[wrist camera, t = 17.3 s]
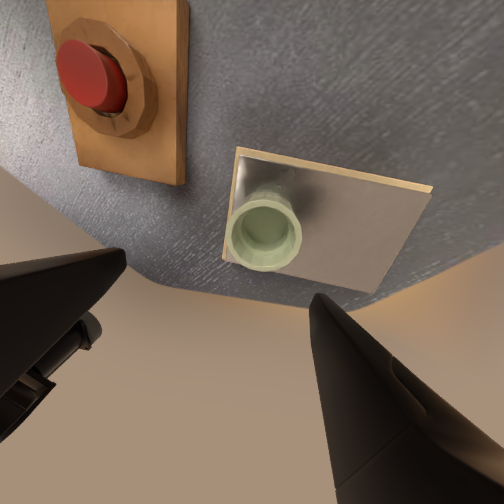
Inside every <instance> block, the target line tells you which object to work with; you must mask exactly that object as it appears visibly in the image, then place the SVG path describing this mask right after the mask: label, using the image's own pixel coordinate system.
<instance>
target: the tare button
mask: <svg viewBox="0 0 504 504" xmlns="http://www.w3.org/2000/svg"><path fill="white" fill-rule="evenodd" d="M57 67H58V72H59V76H60V79H61V81H62V83H63V85H64V87H65V89H66V90H67V92H68V93H69V94H70V95H71V96H72V97H73V98H74V99H75V100H76V101H77V102H78V103H80V104H82V105H84V106H86V107H90V108H93V109H97V110H100V111H103V112H107V113H116V112H118V111H120V110H121V109H122V108H123V107H124V105H125V103H126V99H127V86H126V82H125V78H124V76H123V74H122V72H121V70H120V69H119V67H118V66H117V65H116V63H115V62H114V61H113V60H112V59H110V58H109V57H107V56H106V55H104V54H103V53H101V52H99V51H98V50H96V49H95V48H93V47H91V46H90V45H88V44H87V43H85V42H83V41H81V40H77V39H70V40H67V41H65V42H64V43H63V44H62V45H61V47H60V49H59V51H58V55H57Z"/></svg>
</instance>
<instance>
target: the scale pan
mask: <svg viewBox="0 0 504 504" xmlns="http://www.w3.org/2000/svg"><path fill="white" fill-rule="evenodd" d="M264 191H266V192H267V191H268V192H273V193H278V194H280V195H281V196H283V197H284V198H286V199H287V200H288V201H289V202H290V203H291V205H292V206H293V208H294V210H295V212H296V214H297V217H298V219H299V222H300V225H301V231H302V243H301V246H300V249H299V252H298V254H297V255H296V256H295V257H294V259H293V260H292V261H291V262H290V263H289V264H288V265H286V266H284V267H282V268H280V269H278V270H275V271H272V272H277V273H281V274H286V275H290V276H295V277H299V278H304V279H308V280H313V281H317V282H322V283H326V284H331V285H335V286H340V287H344V288H349V289H353V290H358V291H362V292H367V293H371V294H374V293H375V291H376V289H377V288H378V286H379V284H380V283H381V281H382V279H383V278H384V276H385V274H386V273H387V271H388V269H389V268H390V266H391V264H392V263H393V261H394V259H395V258H396V256H397V254H398V253H399V251H400V249H401V248H402V246H403V244H404V243H405V241H406V239H407V238H408V236H409V234H410V232H411V231H412V229H413V227H414V226H415V224H416V222H417V221H418V219H419V217H420V216H421V214H422V212H423V211H424V209H425V207H426V206H427V204H428V202H429V201H430V199H431V197H432V196H433V194H429V193H425V192H420V191H415V190H410V189H405V188H400V187H396V186H391V185H386V184H381V183H376V182H371V181H367V180H362V179H357V178H352V177H347V176H342V175H338V174H333V173H328V172H323V171H318V170H313V169H309V168H304V167H299V166H294V165H289V164H284V163H280V162H275V161H270V160H265V159H260V158H256V157H251V156H246V155H241V154H240V155H239V163H238V170H237V177H236V184H235V192H234V199H233V206H232V213H231V216H232V214H233V213H234V211H235V210H236V209H237V208H238V207H239V206H240V204H241V203H242V202H243V201H244V200H245V199H247V198H248V197H250V196H251V195H252V194H255V193H259V192H264ZM225 261H227V262H232V263H236V264H240V263H239V262H237V261H236V259H235V258H234V257H233V256H232V254H231V253H230V252H229V250H228V246H227V249H226V257H225ZM241 265H242V264H241Z"/></svg>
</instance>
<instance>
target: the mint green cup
mask: <svg viewBox="0 0 504 504" xmlns="http://www.w3.org/2000/svg"><path fill="white" fill-rule="evenodd" d="M225 239H226V242H227V246H228V250H229V252H230V253H231V254H232V256H233V257H234V258H235V259H236V261H237V262H239V263H240V264H242V265H243V266H245V267H247V268H248V269H251V270H256V271H260V272H266V271H275V270H278V269H280V268H282V267H284V266H286V265H288V264H289V263H290V262H291V261H292V260H293V259H294V257H295V256H296V255H297V254H298V252H299V249H300V246H301V243H302V231H301V225H300V222H299V219H298V217H297V214H296V212H295V210H294V208H293V206H292V205H291V203H290V202H289V201H288V200H287V199H286V198H284V197H283V196H281V195H280V194H278V193H273V192H268V191H267V192H266V191H264V192H259V193H255V194H252V195H251V196H250V197H248V198H247V199H245V200H244V201H243V202H242V203H241V204H240V206H239V207H238V208H237V209H236V210H235V211H234V213H233V214H232V216H231V218H230V219H229V221H228V223H227V227H226V234H225Z"/></svg>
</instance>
